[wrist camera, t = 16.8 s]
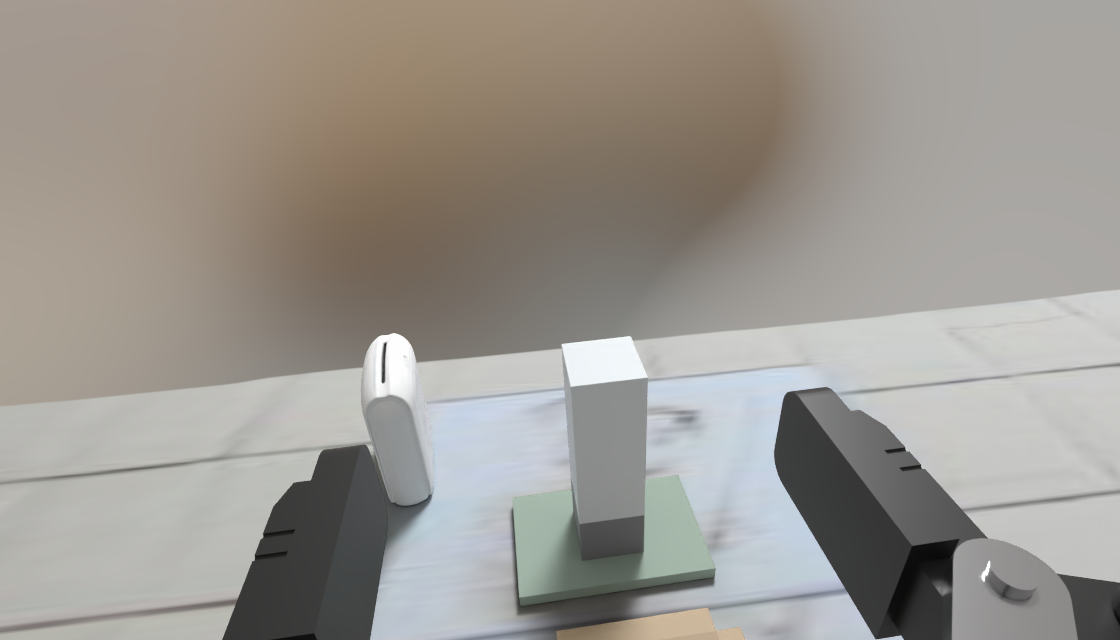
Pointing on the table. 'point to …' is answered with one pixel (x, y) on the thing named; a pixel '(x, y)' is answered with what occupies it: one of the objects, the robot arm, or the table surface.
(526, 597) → the rubber mat
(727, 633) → the open carton
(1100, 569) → the table surface
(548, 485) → the table surface
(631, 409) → the box
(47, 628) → the table surface
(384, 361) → the photo printer
